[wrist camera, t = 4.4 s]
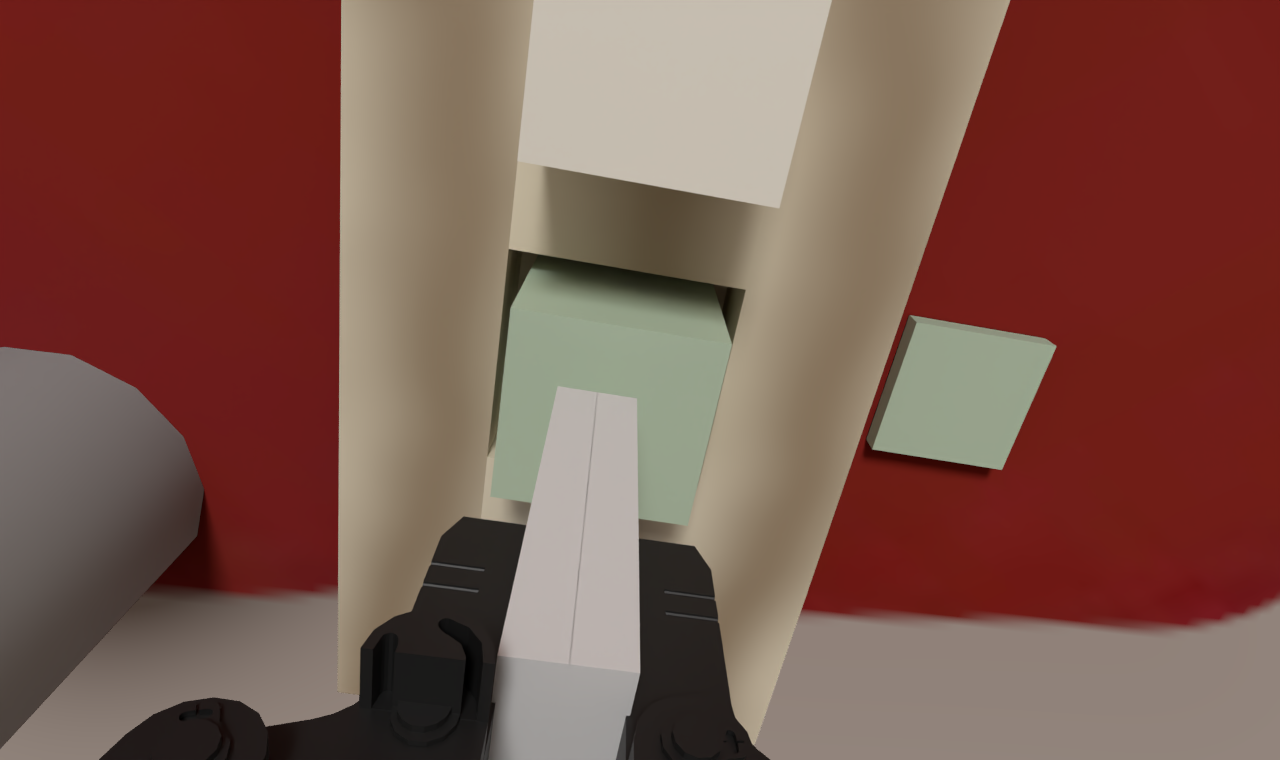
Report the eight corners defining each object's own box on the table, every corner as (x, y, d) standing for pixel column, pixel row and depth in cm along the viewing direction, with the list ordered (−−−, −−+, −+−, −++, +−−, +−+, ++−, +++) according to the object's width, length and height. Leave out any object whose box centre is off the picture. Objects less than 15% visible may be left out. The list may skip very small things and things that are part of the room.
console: (371, 621, 25) (337, 691, 22) (396, -234, 15) (343, -298, 12) (742, 671, 26) (754, 745, 23) (987, -107, 16) (1058, -140, 13)
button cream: (549, 134, 16) (517, 161, 12) (576, -101, 14) (550, -164, 10) (744, 170, 16) (779, 208, 12) (796, -55, 15) (856, -99, 11)
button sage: (520, 407, 20) (490, 496, 16) (540, 251, 18) (510, 307, 14) (678, 431, 21) (687, 525, 16) (712, 281, 19) (732, 344, 15)
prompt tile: (866, 439, 22) (871, 449, 21) (909, 314, 20) (916, 322, 20) (993, 459, 22) (1001, 469, 21) (1045, 338, 20) (1056, 346, 20)
